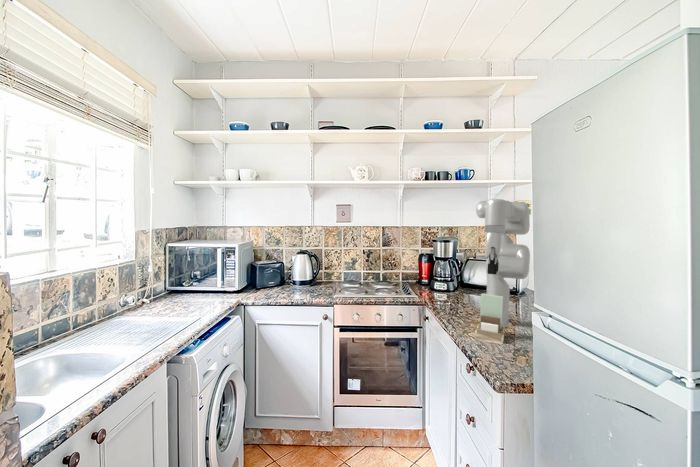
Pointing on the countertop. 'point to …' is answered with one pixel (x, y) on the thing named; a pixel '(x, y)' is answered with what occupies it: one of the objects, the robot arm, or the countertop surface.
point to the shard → (472, 322)
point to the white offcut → (489, 327)
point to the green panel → (492, 306)
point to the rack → (489, 335)
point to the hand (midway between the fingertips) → (492, 272)
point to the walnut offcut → (490, 320)
